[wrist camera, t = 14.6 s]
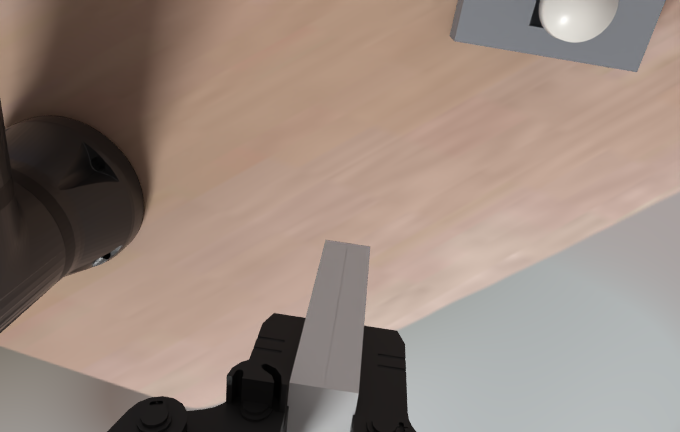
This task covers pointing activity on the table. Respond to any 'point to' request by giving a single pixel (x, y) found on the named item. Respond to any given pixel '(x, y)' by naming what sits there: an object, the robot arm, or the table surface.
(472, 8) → the console
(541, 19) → the plunger
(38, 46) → the table surface
